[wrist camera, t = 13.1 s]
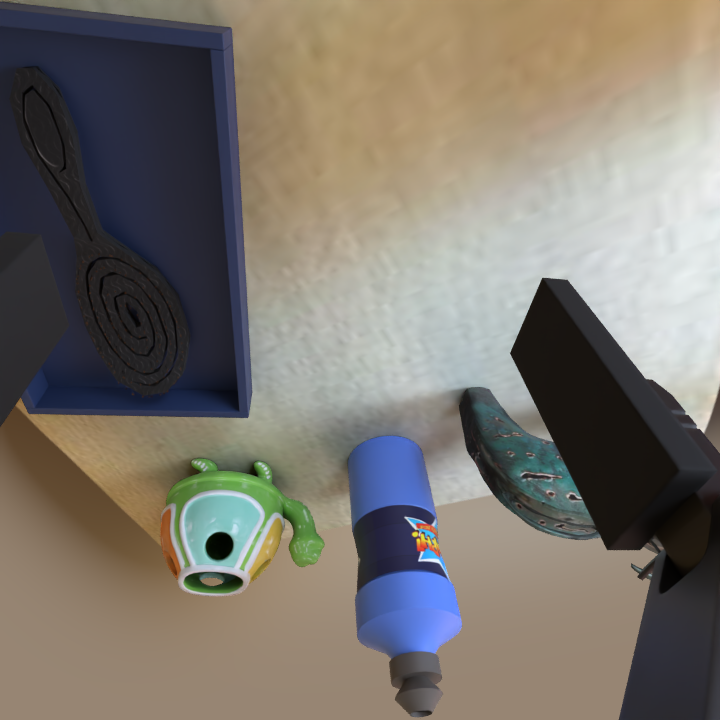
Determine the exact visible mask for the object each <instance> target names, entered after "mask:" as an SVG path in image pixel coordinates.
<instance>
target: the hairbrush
mask: <svg viewBox="0 0 720 720" xmlns="http://www.w3.org/2000/svg"><path fill="white" fill-rule="evenodd" d="M33 87H34V88H35V89H36V90H32V91H30V90H31V89H32V88H33ZM29 91H30V92H29ZM9 100H10V103H11V107H12V111H13V114H14V118H15V121H16V125H17V129H18V132H19V136H20V140H21V143H22V145H23V147H24V149H25V150H26V152H27V154H28V155H29V157H30V159H31V160H32V162H33V164H34V166H35V167H36V169H37V171H38V172H39V174H40V176H41V178H42V179H43V181H44V183H45V184H46V186H47V188H48V190H49V191H50V193H51V195H52V197H53V199H54V201H55V203H56V205H57V207H58V209H59V211H60V213H61V214H62V216H63V218H64V220H65V222H66V224H67V226H68V228H69V230H70V232H71V234H72V235H73V237H74V242H75V249H76V255H77V260H76V280H75V293H76V296H77V300H78V303H79V307H80V310H81V314H82V317H83V321H84V324H85V327H86V329H87V331H88V333H89V335H90V338H91V340H92V342H93V344H94V346H95V348H96V350H97V352H98V354H99V355H100V357H101V358H102V360H103V361H104V363H105V364H106V366H107V367H108V369H109V370H110V372H111V373H112V374H113V376H114V377H115V379H116V380H117V381H118V384H119V382H120V383H122V384H123V385H125V386H127V387H129V388H131V389H132V390H134V391H136V392H138V393H140V394H141V395H143V396H142V398H143V397H144V396H146V395H152V394H158V393H160V395H161V393H163V394H165V393H164V392H168V390H169V389H170V388H171V386H172V385H173V384H174V385H175V383H176V382H177V380H178V379H179V378H180V377H181V376H182V375H183V372H184V370H185V368H186V362H187V358H188V350H189V343H190V337H191V334H190V331H189V327H188V324H187V320H186V317H185V314H184V311H183V307H182V304H181V301H180V297H179V294H178V293H177V292H176V290H175V289H174V288H173V287H172V285H171V284H170V283H169V282H168V280H167V279H166V278H165V277H164V276H163V274H162V273H161V272H160V271H159V269H158V268H157V267H155V266H154V265H153V264H151V263H150V262H148V261H147V260H145V259H144V258H142V257H141V256H140V255H138V254H137V253H135V252H134V251H132V250H131V249H129V248H128V247H127V246H125V245H124V244H122V243H121V242H120V241H118V240H117V239H115V238H114V237H113V236H111V235H110V234H108V233H107V232H106V231H104V230H103V229H102V226H101V224H100V221H99V218H98V215H97V212H96V210H95V207H94V204H93V201H92V199H91V196H90V193H89V190H88V187H87V185H86V181H85V174H84V168H83V162H82V155H81V149H80V143H79V136H78V131H77V128H76V126H75V124H74V121H73V119H72V116H71V114H70V112H69V109H68V107H67V105H66V102H65V100H64V97H63V95H62V93H61V90H60V88H59V87H58V86H57V85H56V84H55V83H54V82H53V81H52V80H51V79H50V78H49V77H48V76H47V75H46V74H45V73H44V72H43V71H42V70H41V69H40V68H39V67H38V66H32V67H22V68H16V72H15V77H14V81H13V85H12V89H11V94H10V98H9ZM100 256H101V258H100V259H98V260H97V261H96V262H95V263H93V267H92V268H91V265H92V262H93V260H95V259H97V258H98V257H100ZM90 268H91V270H90ZM106 274H107V275H106ZM105 275H106V276H105ZM104 276H105V277H104ZM103 278H104V283H102V279H103ZM118 294H119V295H118ZM117 295H118V296H117ZM128 304H129V305H130V306H132V307H133V308H134V309H135V310H136V311H138V314H137V316H138V319H140V322H137V321H136V319H135V318H134V316H133V314H132V313H131V311H130V310H129V308H128ZM130 309H131V307H130ZM154 343H155V347H154V348H153V350H151V348H152V346H153V345H154ZM177 348H178V357H177V360H176V362H175V364H174V366H173V367H172V365H173V362H174V361H175V357H176V353H177ZM150 350H151V351H150ZM166 350H167V356H166V358H165V360H164V362H163V363H162V365H161V366H160V367H159V368H157V367H158V366H159V364H160V363H161V362H162V360H163V358H164V356H165V352H166ZM149 351H150V352H149ZM171 367H172V369H171V370H170V372H169V373H168V370H169V369H170V368H171ZM156 368H157V369H156ZM166 373H168V374H167V375H166V376H165V377H164V375H165V374H166ZM127 387H126V389H127ZM134 391H133V393H134ZM133 393H132V395H134V394H133ZM149 397H150V396H149ZM151 397H152V396H151Z"/></svg>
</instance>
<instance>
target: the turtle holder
mask: <svg viewBox="0 0 720 720" xmlns="http://www.w3.org/2000/svg"><path fill="white" fill-rule="evenodd" d="M191 465H192V466H193V467H194V468H195V469H197V470H198V471H199V472H200V473H199V474H196V475H193V476H190V477H188V478H185V479H183V480H181V481H179V482H178V483H176V484H175V485H174V486H173V487H172V488H171V490H170V491H169V493H168V496H167V500H166V507H165V508H164V510H163V511H162V513H161V545H162V550H163V555H164V558H165V560H166V563H167V565H168V567H169V569H170V570H171V572H172V573H173V575H174V576H175V578H177V580H178V585H179V587H180V588H181V589H182V590H183V591H185V592H188V593H191V594H196V595H204V596H230V595H236V594H239V593H241V592H243V591H244V590H245V589H246V588H247V586H248V584H250V583H251V582H252V581H254V580H255V579H256V578H257V577H258V576H259V575H260V574H261V573H262V572H263V571H264V570H265V569H266V568H267V567H268V565H269V564H270V562H271V561H272V559H273V557H274V555H275V553H276V551H277V549H278V546H279V543H280V540H281V535H282V533H283V530H284V527H285V522H284V519H283V518H285V519H287V520H288V521H289V522H290V523H291V525H292V527H293V532H294V534H293V538H292V540H291V542H290V544H289V551H290V553H291V556H292V559H293V561H294V562H295V563H296V564H297V565H298V566H299V567H305V566H307V565H309V564H315V563H316V562H317V561H318V559H319V557H320V554H321V550H322V548H323V547H324V542H323V540H322V538H321V537H320V536H319V535H318V534H317V533H316V529H315V523H314V520H313V517H312V516H311V514H310V511H309V510H308V509H307V507H306V506H305V505H303V503H301V502H299V501H296V500H293V499H289V498H287V497H285V496H284V495H283V494H282V493H281V492H280V491H279V490H278V489H277V488H276V487H275V486H274V485H272V472H271V468H270V467H269V465H267V464H266V463H264V462H261V461H256V462H255V463H254V465H253V466H254V469H255V471H256V473H257V475H258V477H256V476H253V475H249V474H246V473H241V472H234V471H218V468H217V465H216V464H215V463H214V462H212V461H210V460H207V459H194V460H192V462H191ZM204 578H217V579H220V580H222V581H223V583H222V584H220V585H217V586H208V585H205V584H203V583H202V582H201V581H200V580H202V579H204Z"/></svg>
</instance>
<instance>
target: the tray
mask: <svg viewBox="0 0 720 720" xmlns="http://www.w3.org/2000/svg"><path fill="white" fill-rule="evenodd" d="M32 66H38V67H39V68H40V69H41V70H42V71H43V72H44V73H45V74H46V75H47V76H48V77H49V78H50V79H51V80H52V81H53V82H54V83H55V84H56V85H57V86H58V87H59V88H60V90H61V93H62V95H63V97H64V100H65V102H66V105H67V107H68V109H69V112H70V114H71V116H72V119H73V121H74V124H75V126H76V128H77V131H78V136H79V143H80V149H81V155H82V162H83V168H84V174H85V181H86V185H87V187H88V190H89V193H90V196H91V199H92V201H93V204H94V207H95V210H96V212H97V215H98V218H99V221H100V224H101V226H102V229H103V230H104V231H106V232H107V233H108V234H110V235H111V236H113V237H114V238H115V239H117V240H118V241H120V242H121V243H122V244H124V245H125V246H127V247H128V248H129V249H131V250H132V251H134V252H135V253H137V254H138V255H140V256H141V257H142V258H144V259H145V260H147V261H148V262H150V263H151V264H153V265H154V266H155V267H157V268H158V269H159V271H160V272H161V273H162V274H163V276H164V277H165V278H166V279H167V280H168V282H169V283H170V284H171V285H172V287H173V288H174V289H175V290H176V292H177V293H178V294H179V297H180V301H181V304H182V307H183V311H184V314H185V317H186V320H187V324H188V327H189V331H190V334H191V337H190V343H189V350H188V358H187V362H186V368H185V370H184V372H183V375H182V376H181V377H180V378H179V379H178V380H177V382H176V383H175V385H174V384H173V385H172V386H171V388H170V389H169V390H168V392H164V393H165V394H163V393H161V395H160V393H158V394H152V395H146V396H144V397H143V398H142V396H143V395H141V394H140V393H138V392H136V391H134V390H132V389H131V388H129V387H127V386H125V385H123V384H122V383H120V382H119V384H118V381H117V380H116V379H115V377H114V376H113V374H112V373H111V372H110V370H109V369H108V367H107V366H106V364H105V363H104V361H103V360H102V358H101V357H100V355H99V354H98V352H97V350H96V348H95V346H94V344H93V342H92V340H91V338H90V335H89V333H88V331H87V329H86V327H85V324H84V321H83V317H82V314H81V310H80V307H79V303H78V300H77V296H76V293H75V280H76V260H77V255H76V249H75V242H74V237H73V235H72V234H71V232H70V230H69V228H68V226H67V224H66V222H65V220H64V218H63V216H62V214H61V213H60V211H59V209H58V207H57V205H56V203H55V201H54V199H53V197H52V195H51V193H50V191H49V190H48V188H47V186H46V184H45V183H44V181H43V179H42V178H41V176H40V174H39V172H38V171H37V169H36V167H35V166H34V164H33V162H32V160H31V159H30V157H29V155H28V154H27V152H26V150H25V149H24V147H23V145H22V143H21V140H20V136H19V132H18V129H17V125H16V121H15V118H14V114H13V111H12V107H11V103H10V100H9V98H10V94H11V89H12V85H13V81H14V77H15V72H16V68H22V67H32ZM32 90H36V89H35V88H34V87H33V88H32V89H31V90H30V91H32ZM30 91H29V92H30ZM5 232H19V233H30V234H41V237H42V240H43V243H44V246H45V250H46V253H47V256H48V259H49V262H50V266H51V269H52V272H53V275H54V278H55V281H56V285H57V288H58V291H59V294H60V297H61V301H62V304H63V307H64V310H65V313H66V317H67V320H68V323H69V327H68V328H67V330H66V331H65V333H64V334H63V336H62V337H61V339H60V340H59V342H58V343H57V345H56V346H55V347H54V349H53V350H52V352H51V353H50V355H49V356H48V358H47V359H46V361H45V362H44V364H43V365H42V367H41V368H40V369H39V371H38V372H37V374H36V375H35V377H34V378H33V380H32V381H31V383H30V384H29V386H28V387H27V389H26V390H25V391H24V393H23V394H22V396H21V399H22V401H23V403H24V405H25V407H26V409H27V411H28V413H29V414H62V415H116V416H171V417H225V418H248V417H249V410H250V404H251V397H252V379H251V362H250V344H249V326H248V308H247V290H246V272H245V254H244V236H243V219H242V201H241V183H240V165H239V147H238V129H237V111H236V93H235V76H234V58H233V40H232V28H229V27H220V26H212V25H203V24H194V23H185V22H177V21H168V20H159V19H150V18H141V17H133V16H124V15H115V14H106V13H98V12H89V11H80V10H71V9H62V8H54V7H45V6H36V5H27V4H19V3H10V2H1V1H0V237H1V236H2V235H3V234H4V233H5ZM100 258H101V256H100V257H98V258H97V259H95V260H93V262H92V265H91V268H92V267H93V263H95V262H96V261H97V260H98V259H100ZM91 268H90V270H91ZM106 275H107V274H106ZM106 275H105V276H106ZM105 276H104V277H105ZM102 283H104V278H103V279H102ZM118 295H119V294H118ZM118 295H117V296H118ZM130 307H131V309H130ZM128 308H129V310H130V311H131V313H132V314H133V316H134V318H135V319H136V321H137V322H140V319H138V316H137V314H138V311H136V310H135V309H134V308H133V307H132V306H130V305H129V304H128ZM154 347H155V343H154V345H153V346H152V348H151V350H153V348H154ZM151 350H150V351H151ZM150 351H149V352H150ZM166 356H167V350H166V352H165V356H164V358H163V360H162V362H161V363H160V364H159V366H158V367H157V368H159V367H160V366H161V365H162V363H163V362H164V360H165V358H166ZM177 357H178V348H177V353H176V357H175V361H174V362H173V365H172V367H173V366H174V364H175V362H176V360H177ZM172 367H171V368H170V369H169V370H168V373H169V372H170V370H171V369H172ZM157 368H156V369H157ZM168 373H166V374H165V375H164V377H165V376H166V375H167V374H168ZM126 387H127V389H126ZM133 391H134V393H133ZM132 393H133V394H134V395H132ZM149 396H150V397H149ZM151 396H152V397H151Z"/></svg>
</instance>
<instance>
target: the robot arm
mask: <svg viewBox="0 0 720 720" xmlns="http://www.w3.org/2000/svg"><path fill="white" fill-rule="evenodd" d="M68 327H69V323H68V320H67V317H66V313H65V310H64V307H63V304H62V301H61V297H60V294H59V291H58V288H57V285H56V281H55V278H54V275H53V272H52V269H51V266H50V262H49V259H48V256H47V253H46V250H45V246H44V243H43V240H42V237H41V234H30V233H19V232H5V233H4V234H3V235H2V236H1V237H0V426H1V425H2V424H3V422H4V421H5V419H6V418H7V416H8V415H9V413H10V412H11V411H12V409H13V408H14V406H15V405H16V403H17V402H18V400H19V399H20V397H21V396H22V394H23V393H24V391H25V390H26V389H27V387H28V386H29V384H30V383H31V381H32V380H33V378H34V377H35V375H36V374H37V372H38V371H39V369H40V368H41V367H42V365H43V364H44V362H45V361H46V359H47V358H48V356H49V355H50V353H51V352H52V350H53V349H54V347H55V346H56V345H57V343H58V342H59V340H60V339H61V337H62V336H63V334H64V333H65V331H66V330H67V328H68ZM510 354H511V356H512V358H513V360H514V362H515V364H516V366H517V368H518V370H519V372H520V374H521V376H522V378H523V380H524V382H525V384H526V386H527V388H528V390H529V392H530V394H531V397H532V399H533V401H534V403H535V405H536V407H537V409H538V411H539V413H540V415H541V417H542V419H543V421H544V423H545V425H546V427H547V429H548V431H549V433H550V435H551V437H552V439H553V441H554V443H555V445H556V447H557V449H558V451H559V453H560V455H561V457H562V459H563V461H564V463H565V465H566V467H567V469H568V472H569V474H570V476H571V478H572V480H573V482H574V484H575V486H576V488H577V490H578V492H579V494H580V496H581V498H582V500H583V502H584V504H585V506H586V508H587V510H588V512H589V514H590V516H591V518H592V520H593V522H594V524H595V526H596V528H597V530H598V532H599V534H600V536H601V538H602V540H603V542H604V545H605V546H606V548H607V550H640V549H642V547H644V546H645V545H646V543H647V542H648V541H649V540H650V539H651V538H652V537H653V536H654V535H655V534H656V536H657V538H658V539H659V541H660V543H661V544H662V546H663V548H664V549H663V550H662V551H661V552H660V553H659V554H658V555H657V556H656V557H655V558H654V559H653V560H652V561H651V562H650V563H649V564H647V565H646V567H644V568H643V569H642V570H641V572H640V573H639V575H638V578H639V579H641V580H643V579H644V578H646V577H647V576H648V575H649V574H650V573H652V577H651V582H650V586H649V590H648V595H647V599H646V604H645V608H644V612H643V616H642V621H641V625H640V630H639V634H638V638H637V643H636V647H635V651H634V656H633V660H632V665H631V669H630V673H629V678H628V682H627V686H626V691H625V695H624V699H623V704H622V708H621V713H620V717H619V720H720V453H719V452H718V451H717V449H716V448H715V447H714V446H713V445H712V443H711V442H710V441H709V440H708V439H707V437H706V436H705V435H704V434H703V432H702V431H701V430H700V429H697V428H696V426H697V425H696V424H695V423H694V421H693V420H692V419H691V418H690V416H689V415H685V410H684V409H683V408H682V407H681V405H680V404H679V403H678V402H677V401H676V399H675V398H674V397H673V396H672V395H671V394H670V393H669V392H667V391H666V390H665V389H664V388H662V387H661V386H660V385H658V384H657V383H656V382H654V381H653V380H649V379H645V378H644V376H643V375H642V374H641V373H640V371H639V370H638V369H637V367H636V366H635V365H634V364H633V362H632V361H631V360H630V359H629V357H628V356H627V355H626V353H625V352H624V351H623V350H622V348H621V347H620V346H619V345H618V343H617V342H616V341H615V340H614V338H613V337H612V336H611V334H610V333H609V332H608V331H607V329H606V328H605V327H604V326H603V324H602V323H601V322H600V320H599V319H598V318H597V317H596V315H595V314H594V313H593V312H592V310H591V309H590V308H589V306H588V305H587V304H586V303H585V301H584V300H583V299H582V298H581V296H580V295H579V294H578V293H577V291H576V290H575V289H574V287H573V286H572V285H571V284H570V282H569V281H568V280H563V279H551V278H542V280H541V282H540V285H539V287H538V289H537V292H536V294H535V296H534V299H533V301H532V303H531V306H530V308H529V310H528V313H527V315H526V317H525V320H524V322H523V324H522V327H521V329H520V331H519V334H518V336H517V338H516V341H515V343H514V345H513V348H512V350H511V352H510Z"/></svg>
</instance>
